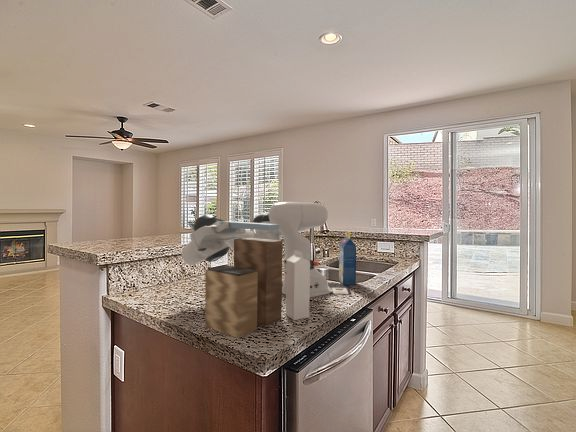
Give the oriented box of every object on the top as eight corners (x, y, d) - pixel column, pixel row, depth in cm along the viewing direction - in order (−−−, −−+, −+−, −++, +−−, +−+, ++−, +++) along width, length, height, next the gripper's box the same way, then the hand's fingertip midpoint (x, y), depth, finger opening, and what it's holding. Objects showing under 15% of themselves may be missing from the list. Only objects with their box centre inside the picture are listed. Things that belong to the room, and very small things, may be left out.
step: (205, 326, 96) (205, 268, 95) (224, 319, 103) (224, 264, 102) (238, 338, 88) (238, 274, 87) (257, 329, 94) (257, 269, 94)
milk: (293, 320, 102) (294, 253, 102) (285, 314, 108) (285, 250, 107) (309, 317, 105) (310, 252, 104) (300, 311, 111) (301, 249, 110)
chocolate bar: (346, 283, 151) (351, 293, 133) (346, 285, 151) (351, 295, 133) (327, 282, 151) (330, 293, 133) (327, 284, 151) (330, 295, 133)
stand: (233, 317, 104) (233, 239, 104) (249, 310, 111) (250, 237, 110) (265, 327, 96) (266, 242, 95) (281, 319, 103) (282, 240, 102)
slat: (220, 226, 110) (220, 221, 110) (229, 226, 113) (229, 221, 113) (269, 230, 97) (269, 224, 97) (278, 229, 101) (278, 224, 101)
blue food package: (342, 286, 147) (343, 233, 147) (338, 280, 159) (339, 231, 159) (355, 286, 147) (357, 233, 147) (350, 280, 159) (351, 231, 159)
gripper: (234, 245, 124) (257, 229, 116) (191, 251, 107) (215, 233, 100) (228, 231, 125) (251, 214, 118) (185, 234, 109) (209, 215, 101)
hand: (234, 223), depth 109 cm, fingers closed on slat, 4 cm apart
